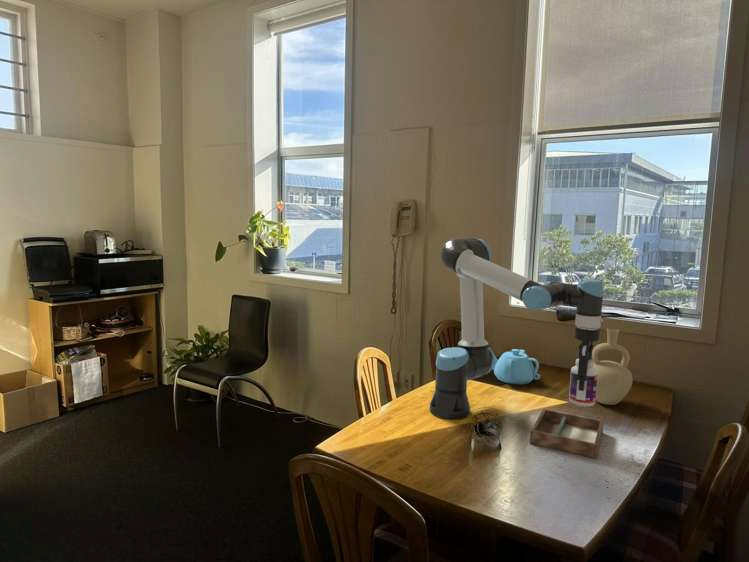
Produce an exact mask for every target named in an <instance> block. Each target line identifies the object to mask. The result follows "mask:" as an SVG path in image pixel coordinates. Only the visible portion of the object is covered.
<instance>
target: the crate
mask: <svg viewBox="0 0 749 562" xmlns="http://www.w3.org/2000/svg"><path fill="white" fill-rule="evenodd" d="M604 422H605V420H603V419H598V418H593V417H587V416H584V415H583V416H582V415H578V414H573V413H568V412H562V411H558V410H554V409H548V408H543V409H542V410H541V412H540V415H539V416H538V417H537V419H536V421H535V423H534V425H532V428H531V429H530V438H529V444H530V445H533V446H537V447H538V446H539V447H542V448H547V449H550V450H551V449H552V450H556V451H560V452H565V453H568V454H572V455H576V456H582V457H585V458H590V459H593V460H594V459H595V460H597V459H598V454H599V451H600V447H601V443H602V442H601V441H602V437H603V434H604V432H603V431H604Z"/></svg>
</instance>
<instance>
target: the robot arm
mask: <svg viewBox="0 0 749 562" xmlns="http://www.w3.org/2000/svg"><path fill="white" fill-rule="evenodd" d="M440 260H441V263H442V264H443V266H444V267H445V268H446V269H448V270H449V271H452V272H454V274H455V275H456V276H457V277H459V290H460V320H461V340H459V341H458V343H457V347H456V346H452V347H446V348H443V349H441V350H439V351H438V352H437V355H436V358H435V359H436V360H435V379H434V380H435V384H434V392H433V394H432V398H431V400H430V403H429V412H430V414H433V415H434V416H435V417H438V418H442V419H448V420H459V419H465V418H467V417H469V416H470V415H471V404H470V399H469V397H468V394H467V388H468V387H467V386H468V381H471V380H474V379H477V378H481V377H484V376H486V375H487V374H488V373H490V372H491V371H493V369H492V368H493V366H494V362H495V358H494V355H495V354H493V353H494V352H493V351H492V349H491V348H490V347H489V342H488V341H487V339H485V324H484V323H485V322H484V321H485V319H484V314H485V313H484V291H483V290H484V288H483V287H484V285H483V284H485V285H487V286H489V287H491V288H493V289H495V290H498V291H499V292H501V293H504V294H506V295H508V296H510V297H513V298H514V299H516V300H519V301H520V302H522V303H523V305H524V306H525V307H526V309H528V310H531V311H543V310H546V309H550V308H555V307H560V306H562V307H563V306H564V307H571V308H576V313H575V320H574V321H575V322H574V325H575V328H574V338H575V339H576V340H578V341H581V343H579V345H578V350H579V351H578V359H579V365H578V375H577V378H576V377H575V380H577V393H576V399H578V400H584V401H585V398H586V386H587V379H586V378H587V369H588V361H589V360H592V351H593V349H594V343H595V342H599V341H600V337H601V330H600V328H601V324H602V322H604V319H603V318H602V316H603V315H602V312H603V311H602V310H603V301H604V296H605V295H604V282H603V281H601V280H599V279H591V278H583V279H579V281H578V283H577V284H574V283H566V282H558V281H545V282H544V283H543V284H541V283H539V282H537V281H534V280H532V279H530V278H528V277H526V276H523V275H521V274H520V273H517V272H514V271H512V270H510V269H508V268H506V267H504V266H503V267H502V266H500V265H498V264H496V263H494V262H492V261H491V260H492V249H491V248H490V245H489V244H488V243H487V241H485V240H484V239H480V238H476V237H470V238H452V239H450V240H448V241H446V242H445V243H444V244H443V246H442V247H441V249H440ZM583 376H584V377H583Z"/></svg>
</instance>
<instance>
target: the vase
mask: <svg viewBox="0 0 749 562" xmlns="http://www.w3.org/2000/svg"><path fill="white" fill-rule="evenodd" d="M620 331H621V330H620V329H619V328H618V329H617V328H611V327H610V328H609V327H607V328H606V333H607V342H602V343H599V344H597V345H595V346H594V347H593V350H592V356H591V360H592V361H594V367H593V368H595V369H596V370H597V386H596V400H595V402H598V403H600V404H602V405H607V406H614V405H617V404H619V403H621V401H622V400H624V398H625V397H626V396H627V394H628V393H629V391H630V390H631V388H632V386H633V383H634V382H633V380H634V379H633V374H632V372H631V370H629V368H628V365H629V364H630V358H631V354H630V353H629V351H628V349H626V347H624V346H622V345H620V344H618V336H619V333H620ZM604 350H614V351H619V352H620V353H622V359H621V361H620V362H617V361H614V360H607V359H606V360H600V359H599V353H600V352H601V351H604Z"/></svg>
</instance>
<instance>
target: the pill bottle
mask: <svg viewBox="0 0 749 562" xmlns="http://www.w3.org/2000/svg"><path fill="white" fill-rule="evenodd" d="M578 365H579V358H576V359H575V365H574V366H572V367H571V369H570V381H569V395H568V401H569V402H570V403H571V404H573V405H575V406H579V407H583V408H584V407H593V406H594V405H596V386H597V370H596V369H595V368H593V367H594V361H593V359H591V360H589V361H588V369H587V378H586V379H587V386H586V398H585V401H584V400H578V399H576V393H577V380H575V377H576V378H577V375H578ZM583 377H584V376H583Z"/></svg>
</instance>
